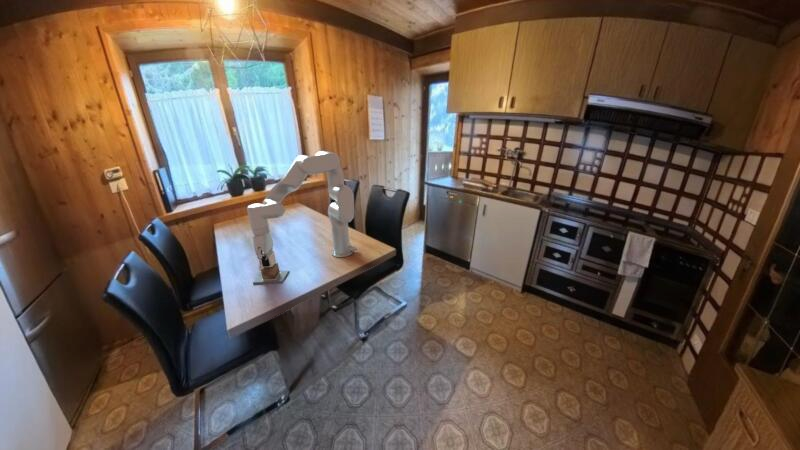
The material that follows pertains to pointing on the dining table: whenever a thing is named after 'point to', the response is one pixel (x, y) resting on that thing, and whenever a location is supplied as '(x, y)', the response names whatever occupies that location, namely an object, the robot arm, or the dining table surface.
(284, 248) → the dining table surface
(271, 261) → the cream block
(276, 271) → the walnut block
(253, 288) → the dining table surface
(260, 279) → the pad
